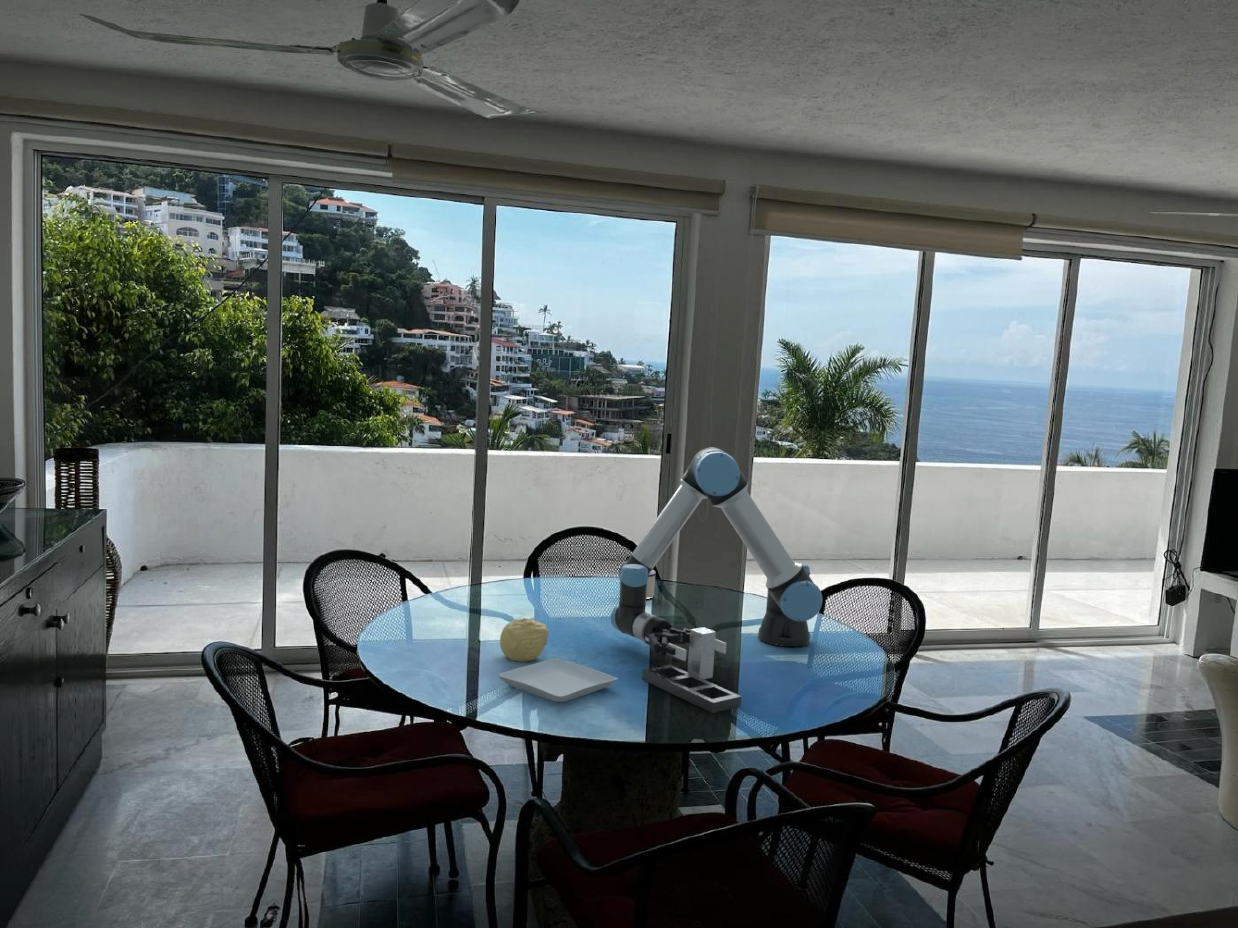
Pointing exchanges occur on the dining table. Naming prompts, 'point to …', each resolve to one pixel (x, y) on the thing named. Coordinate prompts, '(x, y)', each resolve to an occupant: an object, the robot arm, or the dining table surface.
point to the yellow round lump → (523, 639)
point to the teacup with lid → (651, 584)
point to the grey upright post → (701, 652)
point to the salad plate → (557, 679)
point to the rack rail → (693, 695)
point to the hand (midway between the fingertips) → (705, 651)
